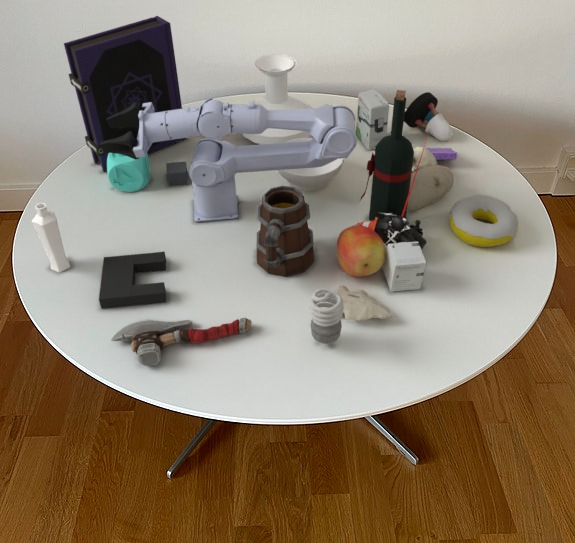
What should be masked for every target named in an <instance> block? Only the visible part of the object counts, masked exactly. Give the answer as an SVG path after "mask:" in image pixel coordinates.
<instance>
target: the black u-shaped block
mask: <svg viewBox="0 0 575 543" xmlns="http://www.w3.org/2000/svg"><path fill="white" fill-rule="evenodd" d="M163 271H167V257H166V252H165V251H156V252H144V253H135V254H124V255H114V256H104V257H103V262H102V270H101V278H100V286H99V295H98V301H99V305H100V308H101V309H113V308H122V307H123V308H124V307H131V306H133V307H134V306H143V305H151V304H162V303H163V304H164V303H167V299H166V298H167V290H166V285H165V282H164V281H162V282H152V283H142V284H136V276H137V274H143V273H144V274H145V273H155V272H163Z"/></svg>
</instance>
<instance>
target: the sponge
mask: <svg viewBox="0 0 575 543" xmlns="http://www.w3.org/2000/svg"><path fill="white" fill-rule="evenodd" d="M425 148H426V149H427V150H429V151H430V152H431V153H432V154H433V155H434V157H435V159H436V161H437V160H438V161H439V160H457V159H458V158H457V157H458V152H457V151H455V150H453V149H452V147H425Z"/></svg>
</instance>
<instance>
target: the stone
mask: <svg viewBox="0 0 575 543" xmlns="http://www.w3.org/2000/svg"><path fill="white" fill-rule="evenodd" d="M415 173H416V171H415V172H413V173H411V181H410V189H411V185H412V182H413V179H414V176H415ZM454 184H455V177H454V174H453V172H452V171H451V169H449V168H448V167H446V166H444V165H440V164H438V165H434V166H429V167H425V168H422V169H419V170H417V174H416V177H415V180H414V183H413V187H412V190H411V193H410V196H409V199H408V205H407V211H414V210H418V209H421V208H422V209H423V208H424V207H427V206H429V205H432V204H433V203H435V202H437V201H439V200H440V199H442V198H443V197H445V196H446V195H447V194H448V193H450V191H451V190H452V188H453V186H454ZM410 189H409V192H410Z"/></svg>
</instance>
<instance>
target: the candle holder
mask: <svg viewBox="0 0 575 543" xmlns="http://www.w3.org/2000/svg"><path fill="white" fill-rule="evenodd" d="M253 66H254V68H255V69H256V70H258V71H260V72H261V73H263V75H264V95H265V96H261V97H259V98H257V99H254V100H253V101H251V102H255V104H261V105H262V106H263V107H264V108H266V109H267V110H288V109H308V108H312V106H311V105H310V104H307V103H305V102H304V101H302V100H301V99H298V98H296V97H294V96H291V95H289V90H288V88H289V86H288V74H289V73H290V72H291V71H293V70H294V69H295V68H296V67H297V66H298V60H297V59H296V58H295V57H293V56H292V55H289V54H283V53H270V54H265V55H262V56H260V57H257V58H256V59H255V60H254V61H253ZM241 136H242V137H244V138H246V139H247V140H249V141H250V142H253V143H254V144H255V145H261V144H275V143H286V142H288V141H291V140H294V139H299V138H310V137H312V135H311V134H310V133H309V132H307V131H299V130H286V129H273V128H268V129H266V130H265V131H264V132H263V133H261V134H241Z"/></svg>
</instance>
